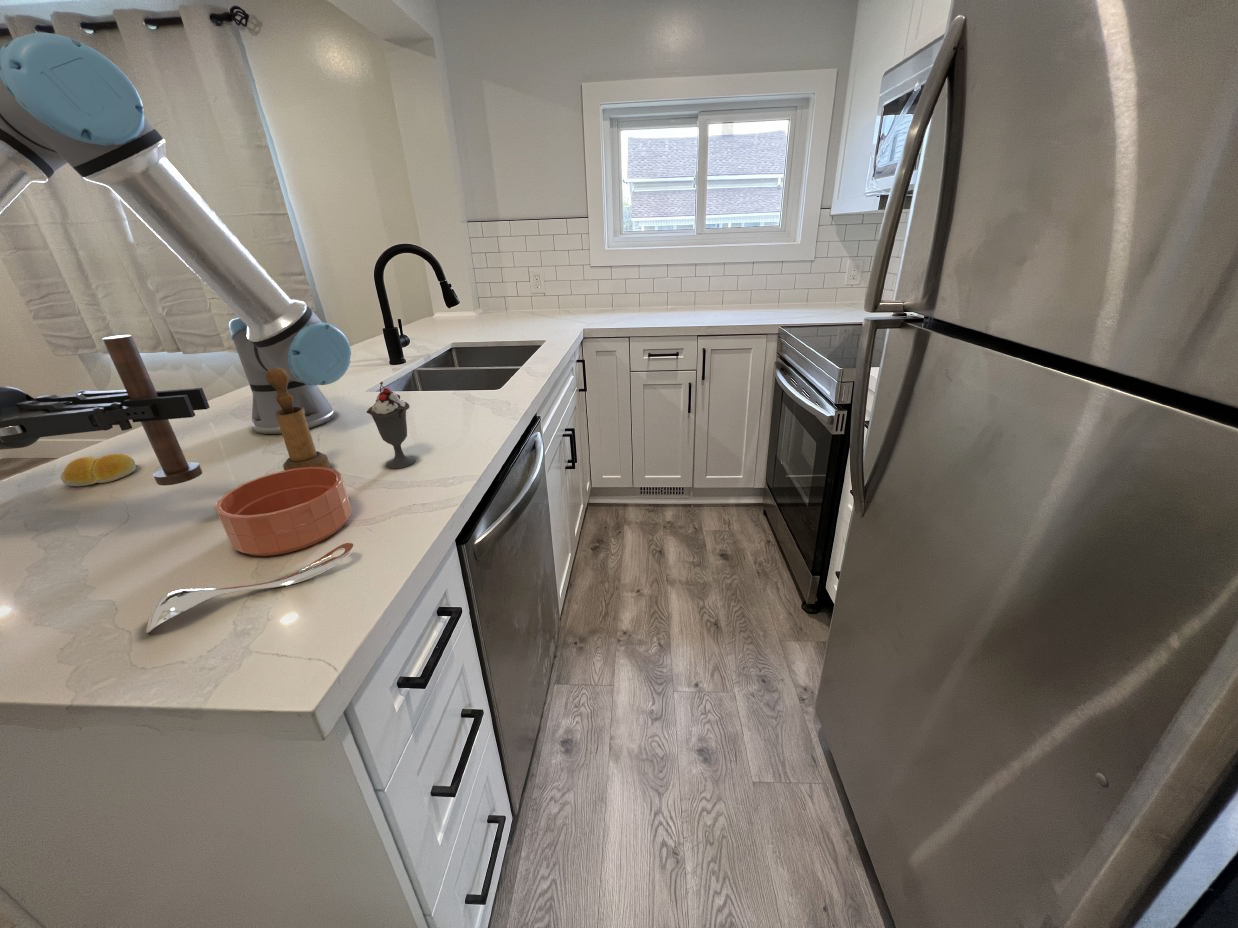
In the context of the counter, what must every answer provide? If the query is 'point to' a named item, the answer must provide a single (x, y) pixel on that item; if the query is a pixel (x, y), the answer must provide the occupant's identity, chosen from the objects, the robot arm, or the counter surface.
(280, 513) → the bowl
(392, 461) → the sundae
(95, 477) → the bread roll
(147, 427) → the stick
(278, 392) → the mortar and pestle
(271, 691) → the counter surface
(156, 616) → the metal spatula
